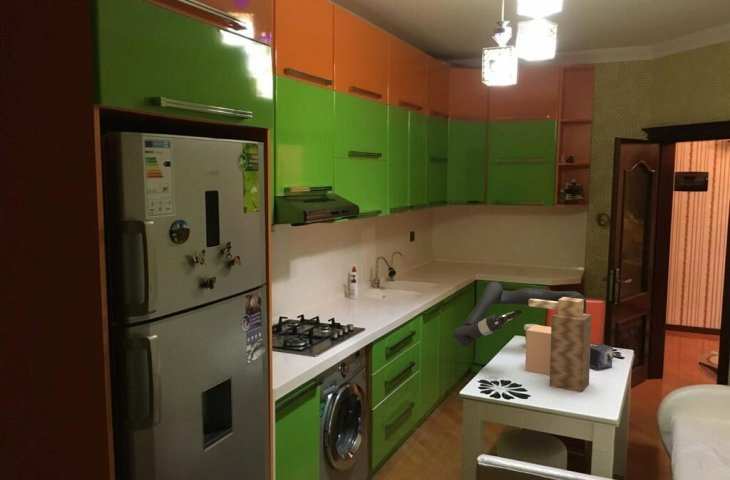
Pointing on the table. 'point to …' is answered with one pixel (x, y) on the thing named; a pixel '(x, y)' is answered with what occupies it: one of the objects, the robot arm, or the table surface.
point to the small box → (601, 357)
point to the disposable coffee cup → (528, 328)
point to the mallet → (561, 306)
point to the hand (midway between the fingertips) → (518, 312)
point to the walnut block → (570, 352)
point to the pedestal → (538, 349)
